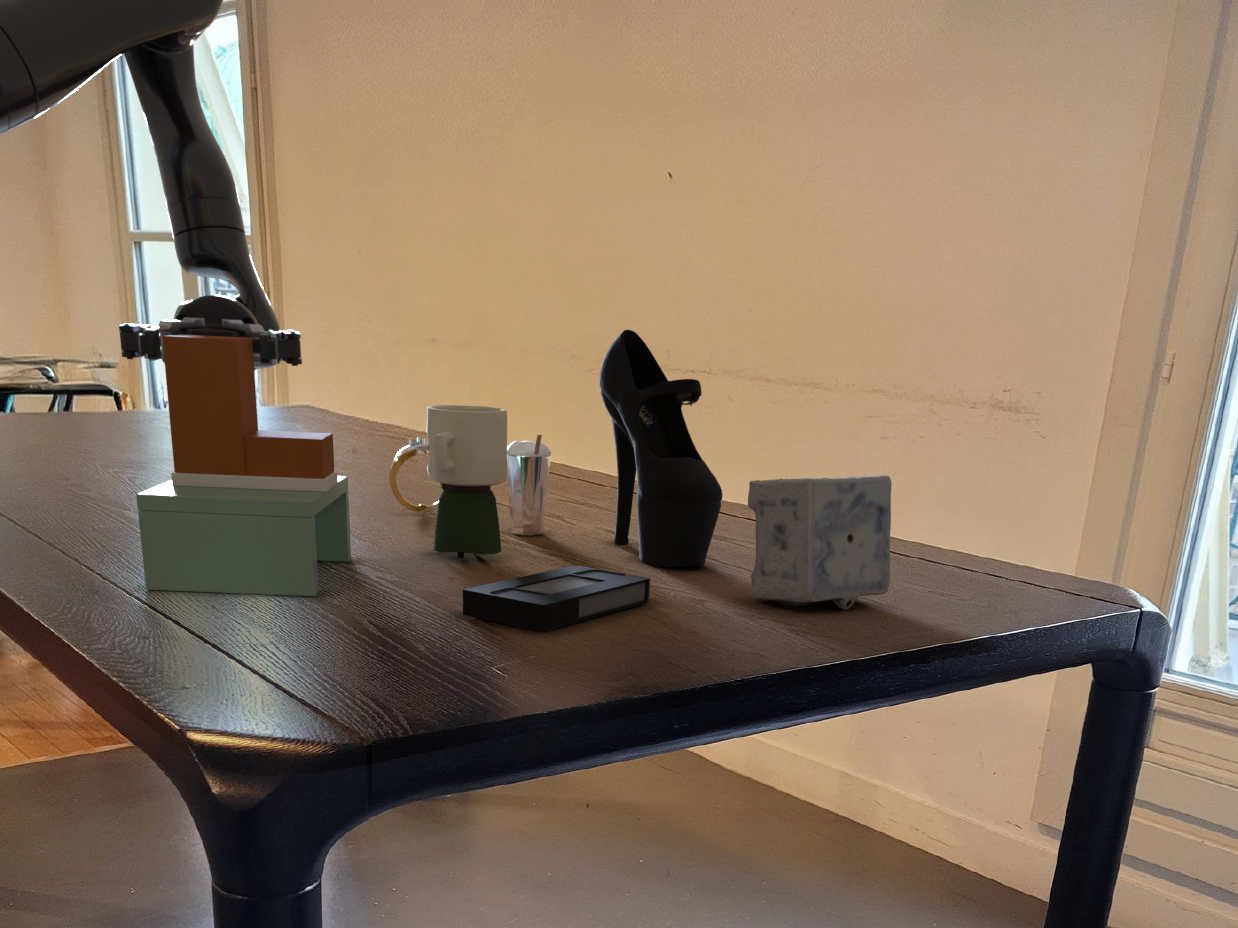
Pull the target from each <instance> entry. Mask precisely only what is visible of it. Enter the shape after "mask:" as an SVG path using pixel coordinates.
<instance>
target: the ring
mask: <svg viewBox="0 0 1238 928" xmlns="http://www.w3.org/2000/svg"><path fill="white" fill-rule="evenodd" d="M417 454H418V455H425V454H428V456H430V444H429V439H428V437H424V438H422V437H420V436H417V437H416V442H413V440H412V438H408V445H406V446H404V447H402V448H401V449H399V451H397V453H396V454H395V456H394V458H393V460H392V461H391V465H390V469H389V470H390V471H389V485H390V488H391V491H392V494H393V497H394V498H395V499H396V500H397V502H398V503H399V504H400V505H402V506H403V507H404V508H406V509H407V510H410V511H412V512H415V513H418V514H419V515H422V516H424V515H427V514H428V513H432V512H436V511H437V510H438V501H436V502H434V503H432V504H429V505H427V504H425V503H419V504H418V505H416V504H413V503H411V502H409V501H408V500H406V499H405V498H404V497H403V496H402V494H401V492H400V490H399V489H398V488H399V487H398V485H397V484H398V483H397V475H398V472H399V470H400V468H401V467H402V465H403V464H404V463H405V462H407V461H408V460H409V459H411V458H414V457H415V456H416V455H417Z"/></svg>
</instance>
